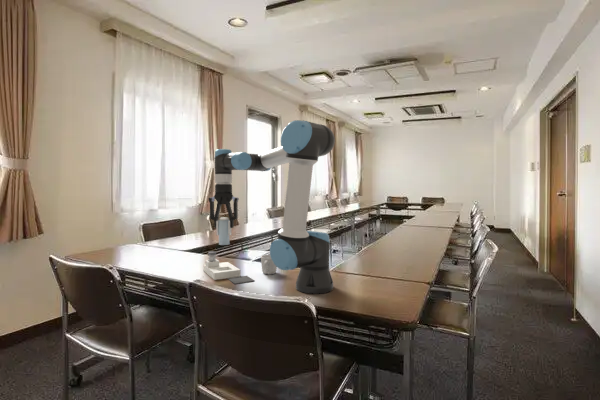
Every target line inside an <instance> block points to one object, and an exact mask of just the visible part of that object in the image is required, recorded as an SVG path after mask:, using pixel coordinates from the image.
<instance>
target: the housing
mask: <svg viewBox="0 0 600 400" xmlns="http://www.w3.org/2000/svg"><path fill="white" fill-rule="evenodd" d="M204 261H205V262H204V263H205V264H203V267H202V269H203V272H204V273H205V274H207V275H208V276H209V277H210V278H211V279H212V280H213V281H216V280H223V279H228V278H233V277H240V276H241V269H240V268H238V267H236V266H235V265H233V264H232V263H230V262H228V261H224V262H223V261H222V262H220V260H219V259H217V258H216V261H212V262H209V259H205V260H204Z"/></svg>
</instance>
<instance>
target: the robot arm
mask: <svg viewBox="0 0 600 400" xmlns="http://www.w3.org/2000/svg"><path fill="white" fill-rule="evenodd" d="M335 143H336V138H335V134H334V131H332V129H331V128H329V127H328V126H327V125H325V124H321V123H320V124H319V123H316V122H311V121H307V120H297V119H296V120H292V121H290V122H289V123H288V124H287V125H286V126H285V127H284V128H283V130H282V132H281V135H280V146H278V147H276V148H273V149H270V150H266V151H264V152H261V153H257V154H256V153H248V152H246V151H237V152H232V150H231V149H228V148H219V149H215V151H214V157H213V159H214V183H215V185H214V196H211V197H208V201H209V219H210V220H213V222H214V223H213V226H214V229H215V230H216V236H219V218H220V217H219V216H220V213H221V208H222V206H223V205H225V207H226V210H227V215H228V220H229V221H228V236H229V237H230V236H232V235H233V234H232V229H233V228H234V225H235V224H234V221H235V220H238V218H239V217H238V215H239V214H238V212H239V210H238V206H239V205H238V203H239V200H240V199H239V197H236V196H234V195H233V185H232V183H233V171H253V172H254V171H255V172H256V171H257V172H268V171H271V169H272V168H275V167H278V166H282V165H284V164H288V172H287V181H286V182H287V184H286V192H285V199H284V200H285V201H284V211H283V220H282V221H283V222H282V227H281V228H280V229H279V230H278V231H277V238H276V239H274V240H272V242H271V244H270V246H269V255H270V256H271V259H272V261H273V262H274V264H275V265H276V266H277V269H279V270H283V271H289V270H290V271H292V270H295V269H298V268H300V269H299V272H298V274H297V278H296V282H295V289H296V290H297V291H298V292H301V293H305V294H312V293H313V294H316V295H317V294H318V295H319V293H320V294H325V292H327V293H329V292H328V291H330V292H331V290H332V289H333V290H334V282H333V277H332V275H331V271H330V244H331V242H330V234H328V233H327V232H321V231H313V230H312V231H311V230H307V222H308V220H307V219H308V212H309V203H310V195H311V186H312V176H313V169H314V165H315V164H316V163H317V162H318V161H319V157H324V156H326V155H328V154H330V152H332V151H333V150H334V148H335ZM231 201H232V202H233V210H232V207H231ZM215 202H217V203H216V208H215ZM333 290H332V291H333Z"/></svg>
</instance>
